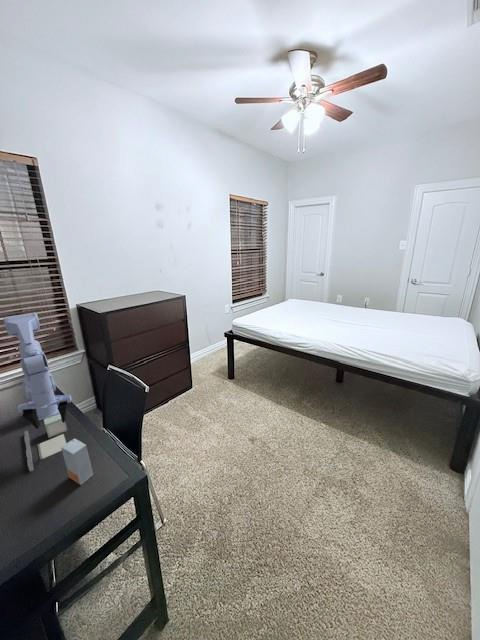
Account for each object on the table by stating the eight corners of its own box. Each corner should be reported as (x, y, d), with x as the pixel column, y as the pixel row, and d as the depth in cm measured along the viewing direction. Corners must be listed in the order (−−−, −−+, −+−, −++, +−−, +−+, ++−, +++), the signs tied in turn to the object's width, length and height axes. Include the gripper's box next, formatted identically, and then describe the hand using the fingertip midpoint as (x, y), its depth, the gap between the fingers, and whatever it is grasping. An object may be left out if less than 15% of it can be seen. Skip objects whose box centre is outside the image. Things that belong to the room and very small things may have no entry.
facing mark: (37, 445, 95) (37, 444, 94) (63, 434, 100) (63, 433, 99) (40, 460, 88) (40, 459, 88) (67, 447, 93) (67, 447, 93)
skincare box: (68, 478, 81) (60, 446, 78) (82, 467, 85) (74, 437, 81) (80, 486, 79) (72, 454, 75) (94, 475, 82) (86, 444, 79)
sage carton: (47, 432, 101) (43, 419, 99) (65, 425, 105) (62, 412, 103) (48, 438, 98) (45, 425, 96) (67, 430, 101) (64, 417, 100)
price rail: (24, 435, 99) (23, 431, 99) (28, 433, 100) (27, 430, 100) (29, 472, 84) (28, 468, 83) (33, 470, 84) (32, 466, 84)
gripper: (9, 401, 80) (21, 437, 85) (65, 390, 86) (73, 425, 90) (17, 389, 87) (28, 423, 91) (68, 380, 92) (76, 413, 96)
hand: (51, 423), depth 91 cm, fingers open, 7 cm apart
